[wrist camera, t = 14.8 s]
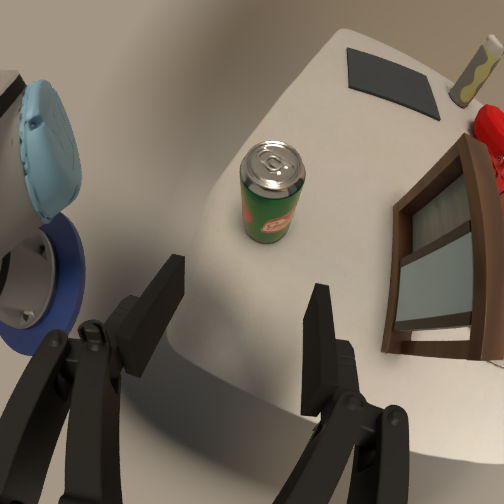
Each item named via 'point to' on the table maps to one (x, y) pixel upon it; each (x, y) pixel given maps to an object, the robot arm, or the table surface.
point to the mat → (390, 82)
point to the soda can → (270, 189)
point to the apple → (490, 129)
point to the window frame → (440, 223)
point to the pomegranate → (498, 172)
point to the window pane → (437, 284)
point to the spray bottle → (477, 71)
